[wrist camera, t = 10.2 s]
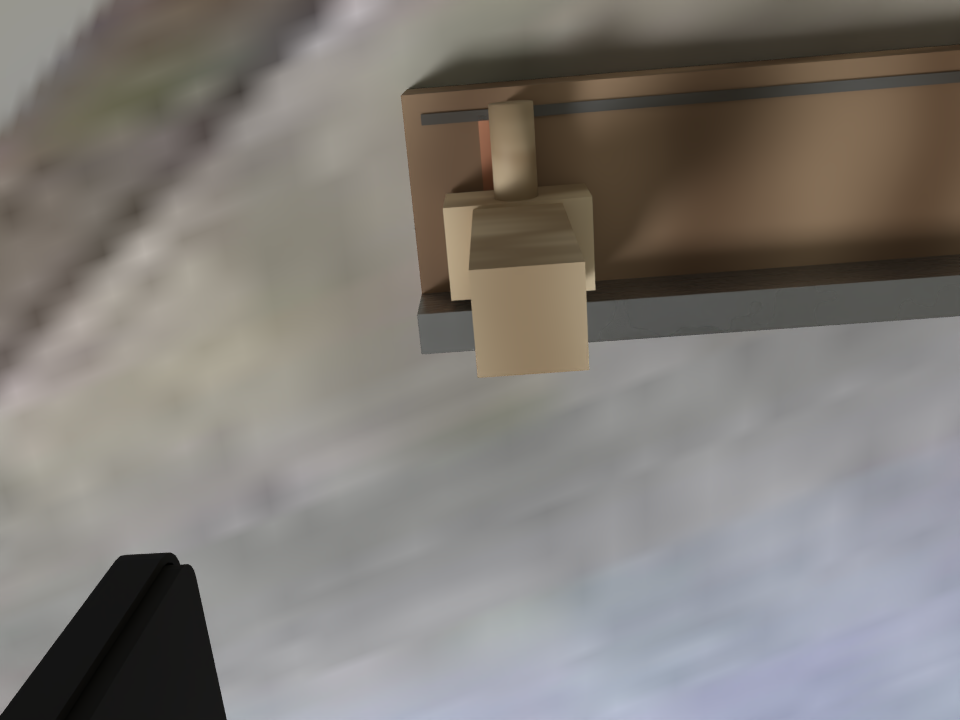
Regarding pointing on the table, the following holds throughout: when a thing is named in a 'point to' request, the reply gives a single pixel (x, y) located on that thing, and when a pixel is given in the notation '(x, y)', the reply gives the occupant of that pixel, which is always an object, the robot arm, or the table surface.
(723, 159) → the wooden slotted block
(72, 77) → the table surface
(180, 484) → the table surface
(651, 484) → the table surface
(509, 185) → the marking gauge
